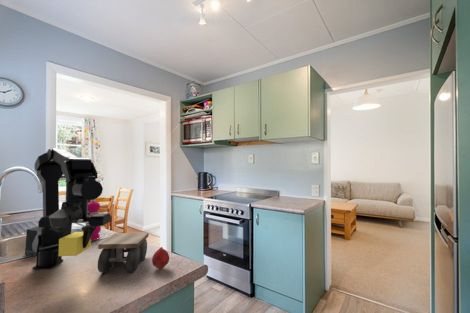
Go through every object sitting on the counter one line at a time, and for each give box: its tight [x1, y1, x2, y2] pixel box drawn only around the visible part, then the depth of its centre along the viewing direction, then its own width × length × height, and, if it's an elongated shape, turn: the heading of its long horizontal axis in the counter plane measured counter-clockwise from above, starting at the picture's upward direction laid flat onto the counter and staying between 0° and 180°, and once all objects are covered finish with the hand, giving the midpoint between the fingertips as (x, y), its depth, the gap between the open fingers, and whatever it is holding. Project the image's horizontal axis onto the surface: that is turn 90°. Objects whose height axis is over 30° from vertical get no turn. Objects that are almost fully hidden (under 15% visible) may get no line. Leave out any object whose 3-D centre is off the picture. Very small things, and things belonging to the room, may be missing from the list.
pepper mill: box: [88, 199, 102, 241], centre depth 108 cm, size 7×7×20 cm
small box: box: [24, 226, 40, 257], centre depth 93 cm, size 11×6×10 cm, turn 168°
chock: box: [59, 231, 92, 257], centre depth 67 cm, size 5×7×5 cm
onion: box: [151, 246, 170, 271], centre depth 78 cm, size 6×6×8 cm
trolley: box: [97, 232, 149, 273], centre depth 80 cm, size 13×16×10 cm
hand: (75, 247), depth 67 cm, fingers closed on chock, 5 cm apart
